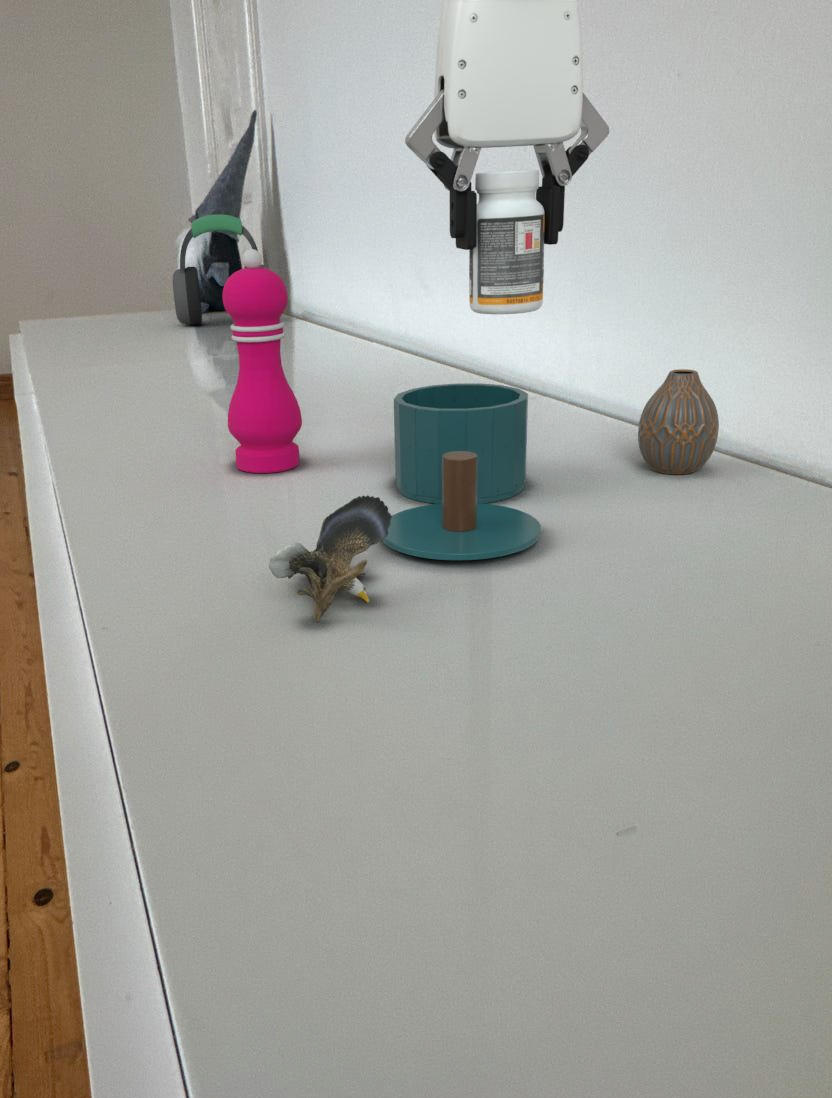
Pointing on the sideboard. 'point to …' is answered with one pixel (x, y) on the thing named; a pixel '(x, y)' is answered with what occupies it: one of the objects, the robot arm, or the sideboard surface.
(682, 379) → the vase
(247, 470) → the pepper mill
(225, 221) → the headphones
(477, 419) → the pot
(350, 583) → the eagle figurine
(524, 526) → the lid
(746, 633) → the sideboard surface
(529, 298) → the pill bottle
